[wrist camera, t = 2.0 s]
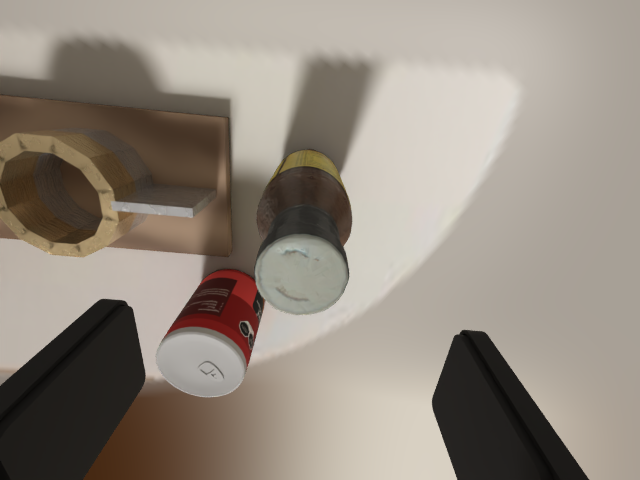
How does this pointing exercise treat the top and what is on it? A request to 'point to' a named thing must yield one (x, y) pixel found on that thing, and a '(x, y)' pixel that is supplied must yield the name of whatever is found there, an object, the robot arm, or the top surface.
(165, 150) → the walnut board
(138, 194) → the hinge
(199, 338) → the canned food
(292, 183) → the sauce bottle
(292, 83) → the top surface
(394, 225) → the top surface
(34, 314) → the top surface
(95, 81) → the top surface
